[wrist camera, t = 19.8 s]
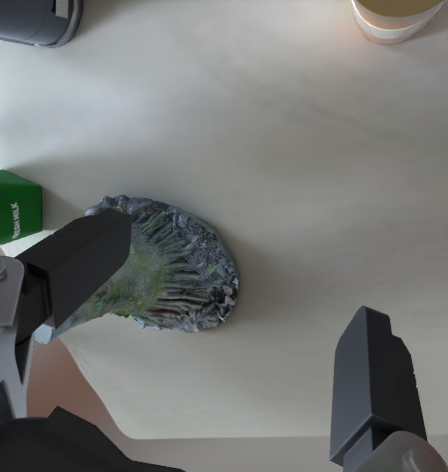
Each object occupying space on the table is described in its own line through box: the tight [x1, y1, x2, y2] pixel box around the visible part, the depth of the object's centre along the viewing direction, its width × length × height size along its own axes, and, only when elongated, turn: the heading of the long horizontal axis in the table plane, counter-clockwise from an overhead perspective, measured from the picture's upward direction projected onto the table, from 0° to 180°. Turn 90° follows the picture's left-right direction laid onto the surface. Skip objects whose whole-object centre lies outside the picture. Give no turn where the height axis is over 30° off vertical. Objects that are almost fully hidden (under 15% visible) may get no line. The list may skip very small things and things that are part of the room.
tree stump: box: [35, 195, 239, 344], centre depth 35 cm, size 18×20×18 cm
